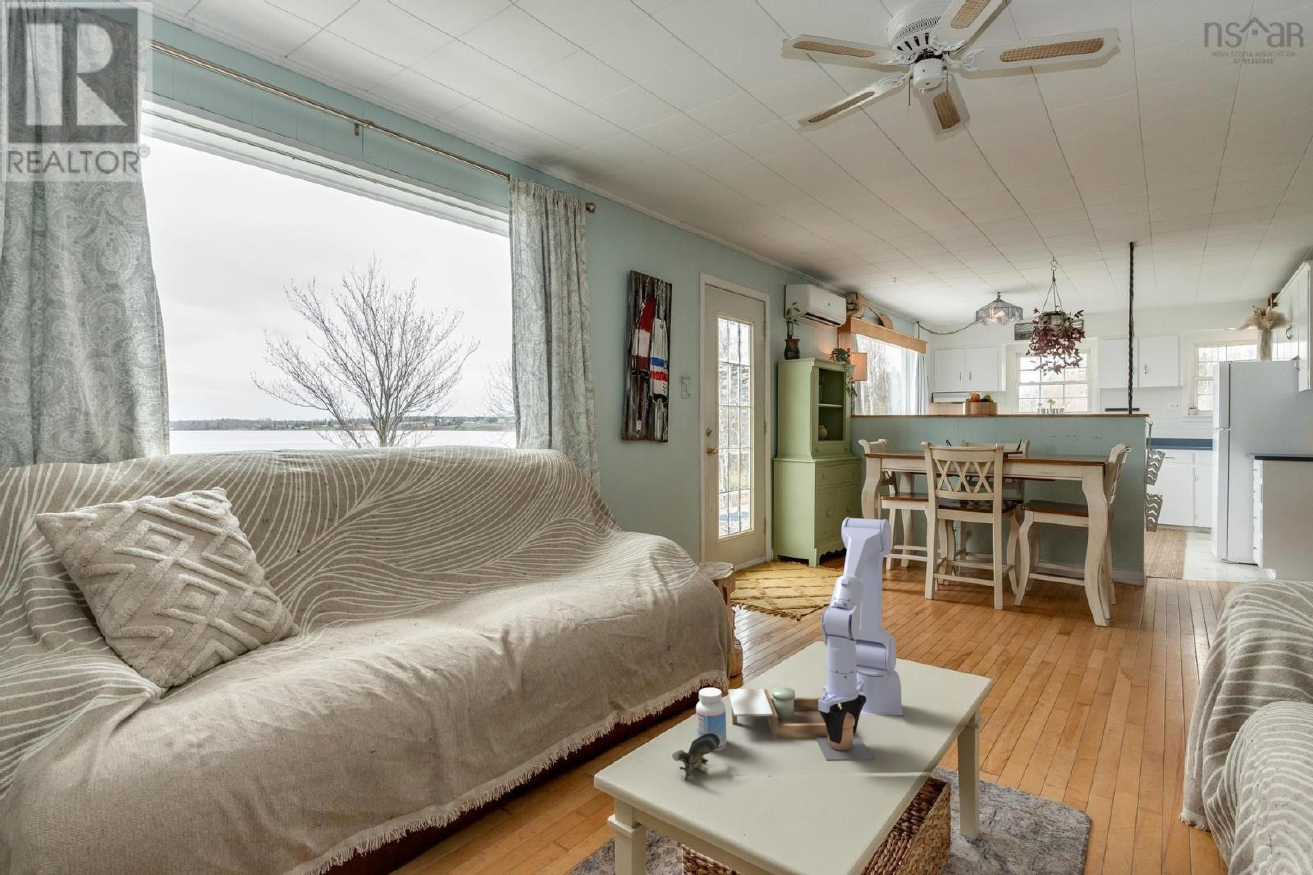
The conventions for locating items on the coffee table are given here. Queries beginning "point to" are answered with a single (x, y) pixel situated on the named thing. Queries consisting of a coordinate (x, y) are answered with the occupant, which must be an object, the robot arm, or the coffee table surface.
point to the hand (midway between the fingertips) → (842, 736)
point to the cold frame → (761, 704)
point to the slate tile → (854, 753)
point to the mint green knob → (784, 702)
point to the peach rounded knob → (845, 734)
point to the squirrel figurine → (697, 753)
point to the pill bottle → (711, 715)
